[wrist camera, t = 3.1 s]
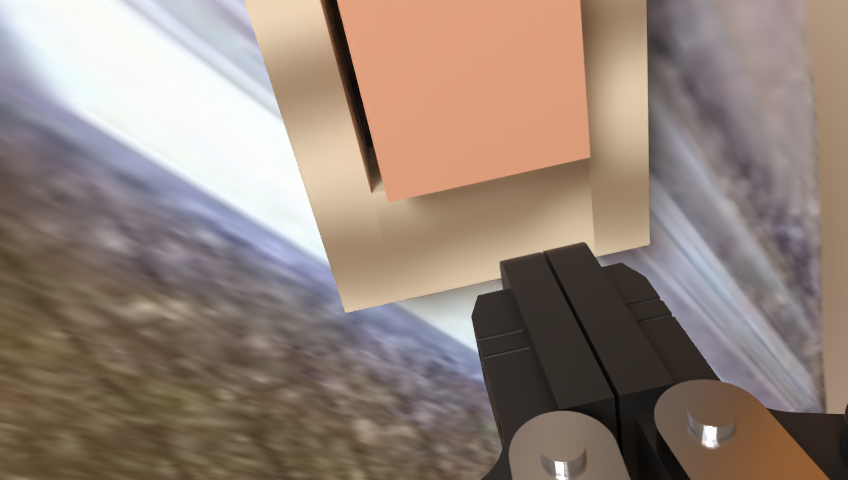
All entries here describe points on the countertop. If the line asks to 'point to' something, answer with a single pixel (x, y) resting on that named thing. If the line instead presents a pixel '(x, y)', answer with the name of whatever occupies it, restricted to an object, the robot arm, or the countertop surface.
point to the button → (468, 88)
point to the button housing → (467, 205)
